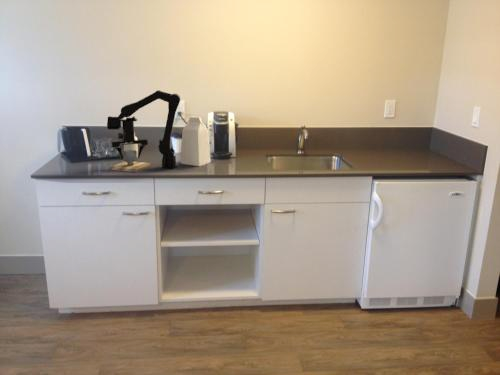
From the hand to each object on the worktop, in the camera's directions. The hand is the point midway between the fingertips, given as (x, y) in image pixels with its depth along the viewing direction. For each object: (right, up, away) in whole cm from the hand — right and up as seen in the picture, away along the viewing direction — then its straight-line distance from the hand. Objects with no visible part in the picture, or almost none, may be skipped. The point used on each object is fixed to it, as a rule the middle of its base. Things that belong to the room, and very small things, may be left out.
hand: (130, 158), depth 243 cm
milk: (+34, -2, +15) cm, 37 cm away
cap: (0, -1, 0) cm, 1 cm away
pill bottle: (-6, +2, +25) cm, 26 cm away
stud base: (0, -5, +1) cm, 5 cm away
